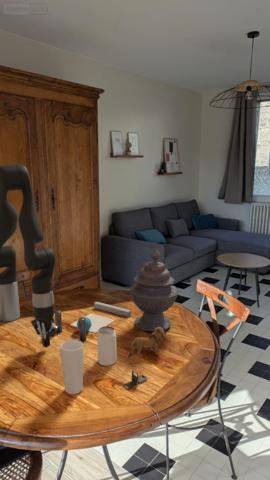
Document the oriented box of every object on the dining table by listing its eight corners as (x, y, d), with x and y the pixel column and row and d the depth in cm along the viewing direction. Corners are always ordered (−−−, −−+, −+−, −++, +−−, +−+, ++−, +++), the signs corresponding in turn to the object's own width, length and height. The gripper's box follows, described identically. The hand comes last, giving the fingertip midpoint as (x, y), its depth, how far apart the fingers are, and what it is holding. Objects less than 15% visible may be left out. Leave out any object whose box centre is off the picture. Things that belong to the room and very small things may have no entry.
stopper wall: (94, 307, 167) (94, 303, 167) (96, 306, 169) (96, 301, 168) (128, 317, 156) (128, 312, 156) (130, 315, 158) (130, 310, 158)
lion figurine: (159, 345, 132) (160, 323, 130) (167, 351, 127) (167, 329, 125) (125, 355, 125) (124, 332, 123) (131, 362, 121) (131, 338, 119)
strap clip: (142, 376, 113) (142, 364, 112) (148, 380, 111) (148, 368, 110) (121, 386, 108) (121, 374, 107) (127, 391, 105) (127, 379, 104)
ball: (71, 326, 141) (78, 313, 143) (79, 330, 146) (85, 317, 148) (83, 331, 138) (89, 317, 140) (90, 335, 143) (96, 321, 145)
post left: (54, 332, 143) (53, 312, 141) (59, 329, 145) (57, 309, 143) (59, 333, 141) (57, 313, 140) (63, 331, 144) (62, 311, 142)
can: (113, 367, 117) (113, 335, 115) (95, 365, 119) (94, 333, 116) (118, 357, 124) (117, 326, 121) (101, 355, 125) (100, 324, 122)
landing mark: (70, 325, 149) (70, 324, 149) (91, 313, 161) (91, 313, 161) (95, 333, 142) (95, 332, 142) (115, 320, 153) (115, 320, 153)
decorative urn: (120, 330, 142) (124, 247, 136) (138, 314, 160) (143, 240, 155) (167, 341, 135) (174, 254, 129) (180, 323, 153) (187, 246, 147)
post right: (78, 340, 136) (77, 319, 134) (82, 337, 138) (81, 316, 136) (83, 342, 134) (82, 320, 133) (87, 339, 137) (86, 318, 135)
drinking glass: (64, 383, 109) (61, 340, 106) (85, 382, 109) (83, 339, 106) (61, 397, 102) (58, 351, 99) (84, 396, 103) (82, 350, 100)
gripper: (22, 302, 126) (26, 345, 129) (48, 310, 119) (51, 356, 122) (38, 296, 132) (41, 337, 135) (63, 303, 125) (66, 346, 128)
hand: (46, 346), depth 129 cm, fingers closed
